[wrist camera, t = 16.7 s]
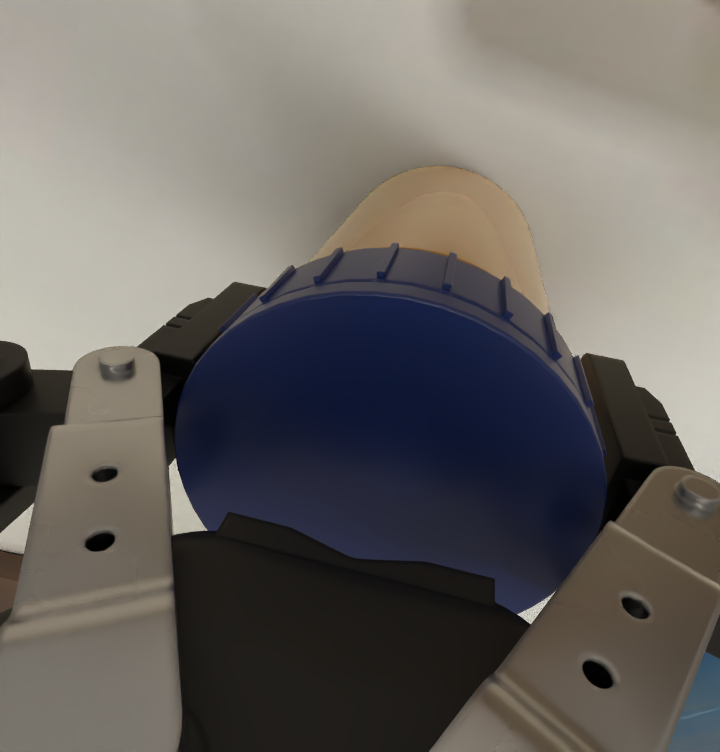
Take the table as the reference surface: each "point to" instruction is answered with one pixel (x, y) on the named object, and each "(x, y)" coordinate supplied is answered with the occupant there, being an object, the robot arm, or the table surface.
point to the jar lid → (400, 420)
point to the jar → (447, 225)
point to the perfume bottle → (700, 712)
